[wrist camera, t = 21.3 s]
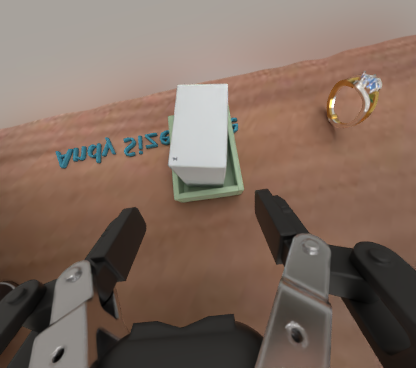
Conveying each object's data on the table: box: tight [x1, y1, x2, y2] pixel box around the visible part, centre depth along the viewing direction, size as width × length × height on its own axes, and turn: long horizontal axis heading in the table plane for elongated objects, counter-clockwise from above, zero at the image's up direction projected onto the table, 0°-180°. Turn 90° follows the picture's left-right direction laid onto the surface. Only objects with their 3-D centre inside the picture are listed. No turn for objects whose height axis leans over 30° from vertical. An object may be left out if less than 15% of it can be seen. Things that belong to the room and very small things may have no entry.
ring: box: [327, 71, 382, 128], centre depth 23 cm, size 7×3×8 cm, turn 9°
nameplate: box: [56, 118, 238, 168], centre depth 29 cm, size 37×1×5 cm
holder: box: [168, 106, 244, 203], centre depth 25 cm, size 10×14×4 cm
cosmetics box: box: [168, 84, 228, 188], centre depth 21 cm, size 10×6×10 cm, turn 177°
